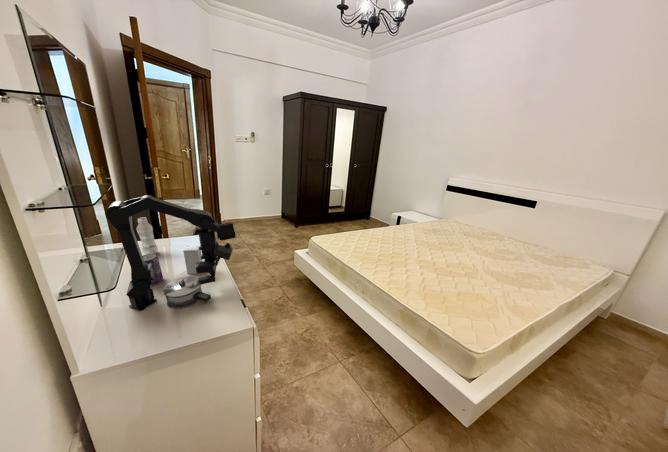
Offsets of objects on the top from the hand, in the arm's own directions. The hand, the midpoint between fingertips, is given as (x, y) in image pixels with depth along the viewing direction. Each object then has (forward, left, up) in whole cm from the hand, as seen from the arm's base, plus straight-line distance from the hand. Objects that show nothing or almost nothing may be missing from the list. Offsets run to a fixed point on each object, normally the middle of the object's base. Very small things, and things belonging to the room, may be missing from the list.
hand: (213, 275), depth 106 cm
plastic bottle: (+10, +50, -5) cm, 51 cm away
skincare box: (+6, +16, -5) cm, 18 cm away
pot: (-11, +2, -5) cm, 12 cm away
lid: (-9, +3, 0) cm, 10 cm away
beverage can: (-7, +26, -5) cm, 28 cm away
